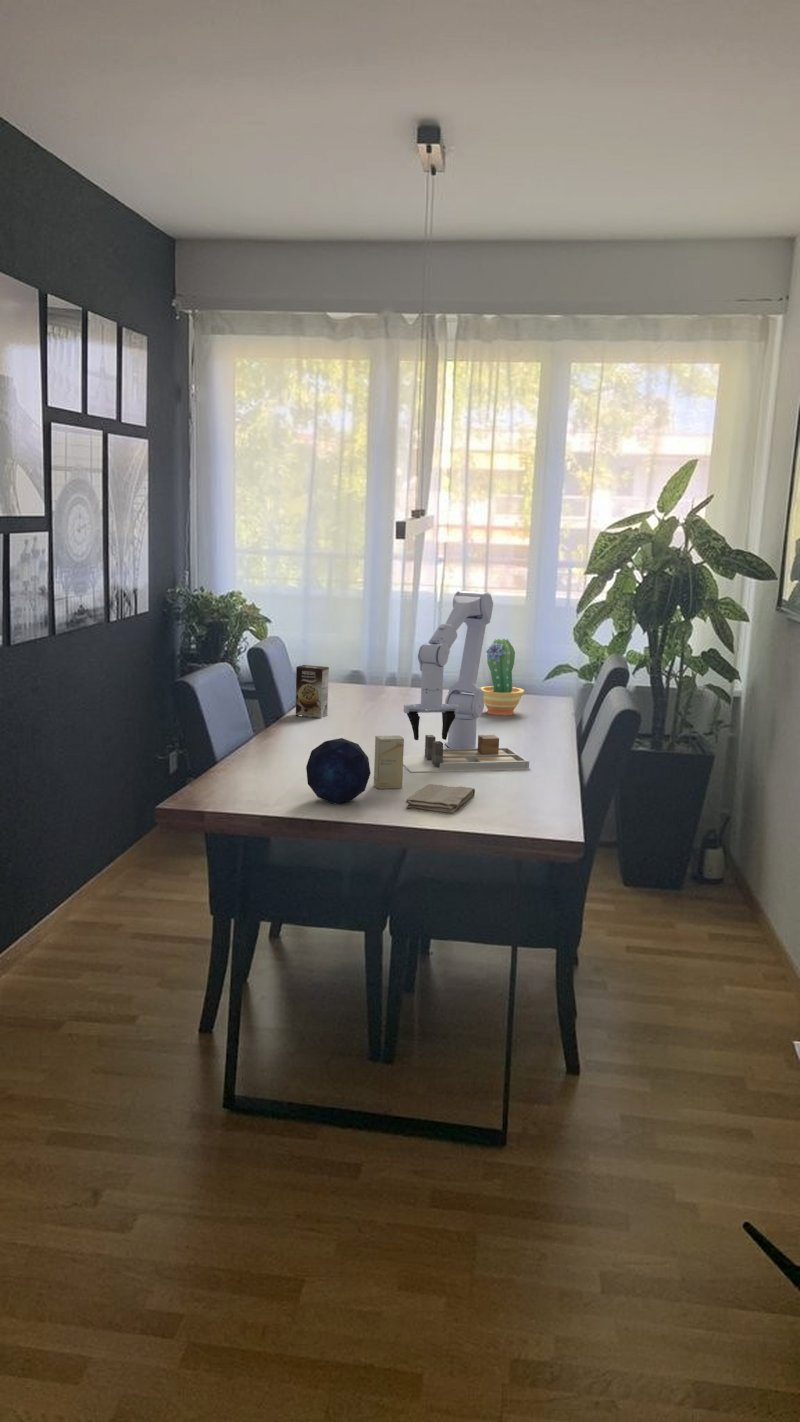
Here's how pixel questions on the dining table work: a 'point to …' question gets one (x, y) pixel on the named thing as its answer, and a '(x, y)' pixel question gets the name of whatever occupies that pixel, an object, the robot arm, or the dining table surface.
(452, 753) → the strip
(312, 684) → the coffee box
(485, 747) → the walnut cube
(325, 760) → the decorative orb
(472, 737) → the robot arm
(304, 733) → the dining table surface
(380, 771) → the skincare box
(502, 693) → the potted cactus
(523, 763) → the lane board
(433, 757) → the broken strip
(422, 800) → the washcloth
